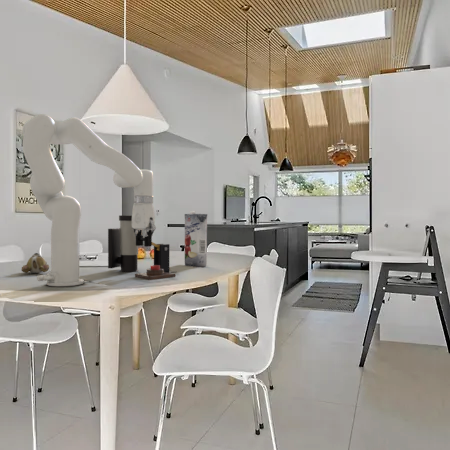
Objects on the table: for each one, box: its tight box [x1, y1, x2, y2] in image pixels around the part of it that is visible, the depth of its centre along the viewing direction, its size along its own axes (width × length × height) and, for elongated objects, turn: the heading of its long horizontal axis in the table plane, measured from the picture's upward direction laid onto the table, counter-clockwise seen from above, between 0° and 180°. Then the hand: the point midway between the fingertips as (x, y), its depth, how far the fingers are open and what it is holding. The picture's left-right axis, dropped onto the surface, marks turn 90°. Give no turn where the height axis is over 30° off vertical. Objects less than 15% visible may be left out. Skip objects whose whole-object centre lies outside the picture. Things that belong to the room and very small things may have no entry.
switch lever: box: [139, 236, 160, 251], centre depth 178 cm, size 12×5×2 cm, turn 136°
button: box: [150, 264, 160, 270], centre depth 168 cm, size 4×4×2 cm
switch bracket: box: [145, 243, 176, 274], centre depth 181 cm, size 10×8×13 cm
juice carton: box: [184, 210, 208, 268], centre depth 212 cm, size 9×10×27 cm
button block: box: [134, 267, 176, 281], centre depth 168 cm, size 12×10×4 cm
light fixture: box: [107, 214, 140, 273], centre depth 185 cm, size 12×11×25 cm
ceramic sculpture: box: [21, 252, 50, 274], centre depth 185 cm, size 11×9×15 cm
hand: (143, 245), depth 175 cm, fingers closed on switch lever, 5 cm apart
